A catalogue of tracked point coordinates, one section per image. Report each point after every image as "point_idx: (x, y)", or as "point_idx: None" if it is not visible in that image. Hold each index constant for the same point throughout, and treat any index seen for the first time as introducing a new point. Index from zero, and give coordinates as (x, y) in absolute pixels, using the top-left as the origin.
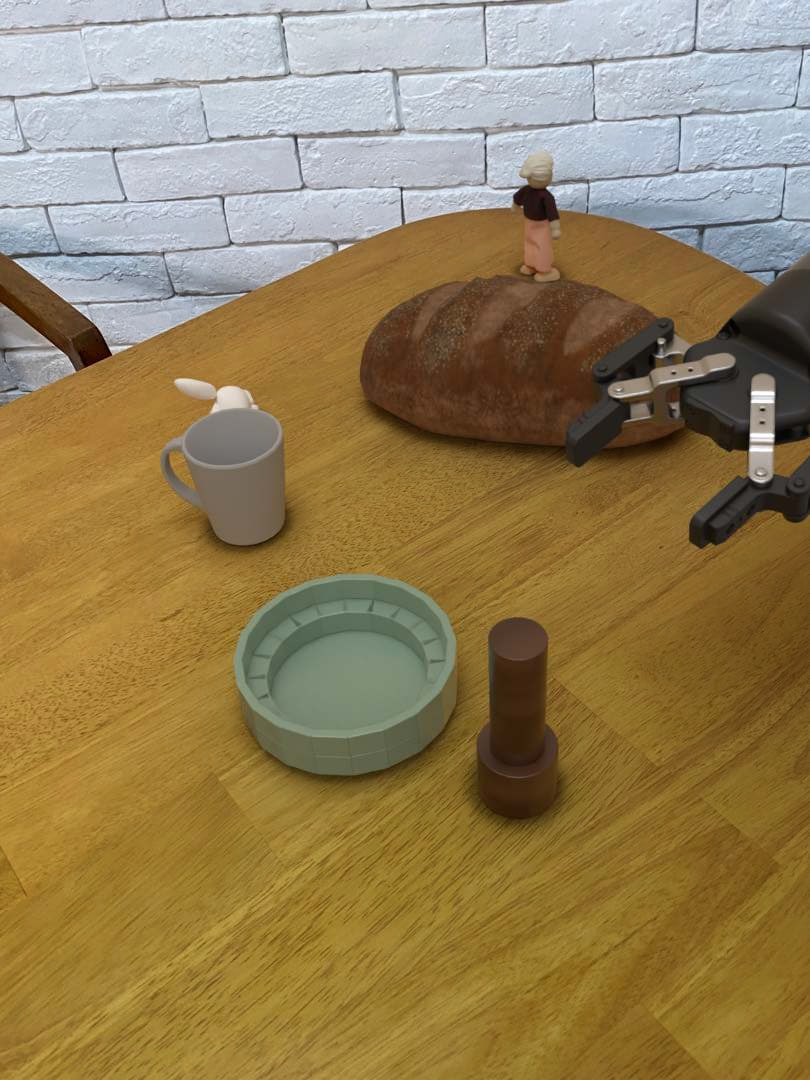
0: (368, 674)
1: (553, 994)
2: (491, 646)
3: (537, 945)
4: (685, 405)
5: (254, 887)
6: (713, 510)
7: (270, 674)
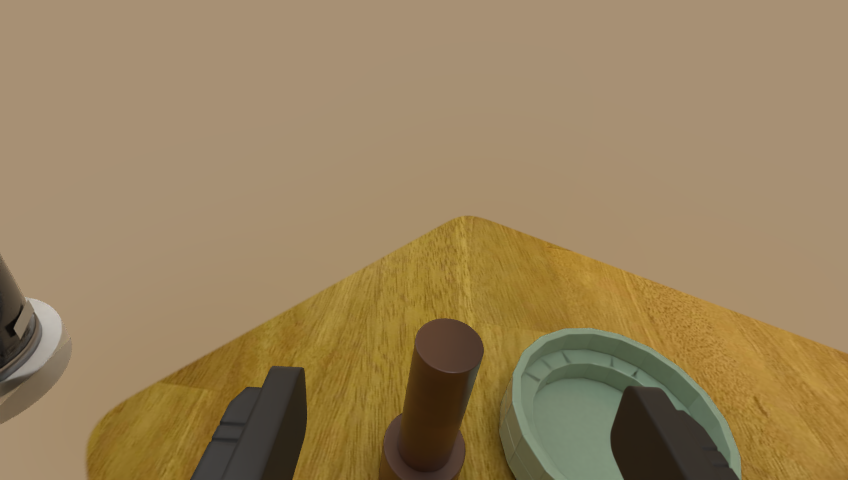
0: (609, 466)
1: (279, 360)
2: (459, 321)
3: (308, 378)
4: None
5: (477, 305)
6: (266, 393)
7: None
